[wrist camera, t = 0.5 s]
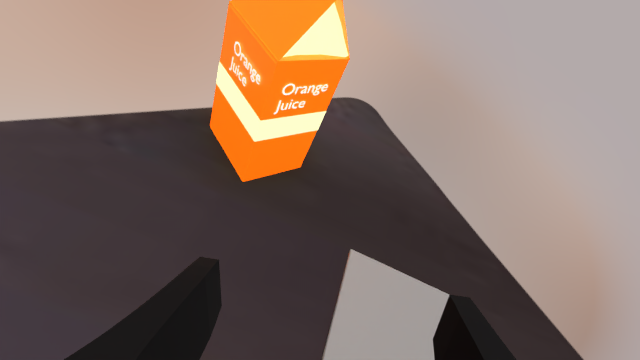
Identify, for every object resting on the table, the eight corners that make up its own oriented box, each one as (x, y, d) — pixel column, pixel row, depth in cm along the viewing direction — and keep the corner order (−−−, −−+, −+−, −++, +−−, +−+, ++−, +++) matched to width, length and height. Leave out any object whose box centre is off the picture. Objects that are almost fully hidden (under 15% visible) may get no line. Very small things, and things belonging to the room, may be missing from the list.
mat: (479, 477, 26) (482, 477, 26) (310, 403, 25) (312, 402, 25) (470, 307, 36) (473, 305, 36) (349, 251, 35) (351, 249, 35)
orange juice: (241, 182, 36) (297, -13, 22) (208, 125, 40) (238, -73, 26) (302, 167, 41) (380, -3, 27) (267, 117, 44) (319, -55, 30)
